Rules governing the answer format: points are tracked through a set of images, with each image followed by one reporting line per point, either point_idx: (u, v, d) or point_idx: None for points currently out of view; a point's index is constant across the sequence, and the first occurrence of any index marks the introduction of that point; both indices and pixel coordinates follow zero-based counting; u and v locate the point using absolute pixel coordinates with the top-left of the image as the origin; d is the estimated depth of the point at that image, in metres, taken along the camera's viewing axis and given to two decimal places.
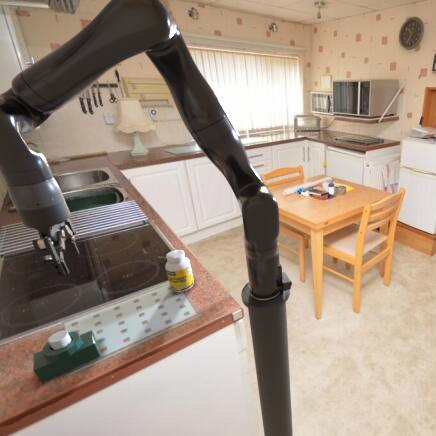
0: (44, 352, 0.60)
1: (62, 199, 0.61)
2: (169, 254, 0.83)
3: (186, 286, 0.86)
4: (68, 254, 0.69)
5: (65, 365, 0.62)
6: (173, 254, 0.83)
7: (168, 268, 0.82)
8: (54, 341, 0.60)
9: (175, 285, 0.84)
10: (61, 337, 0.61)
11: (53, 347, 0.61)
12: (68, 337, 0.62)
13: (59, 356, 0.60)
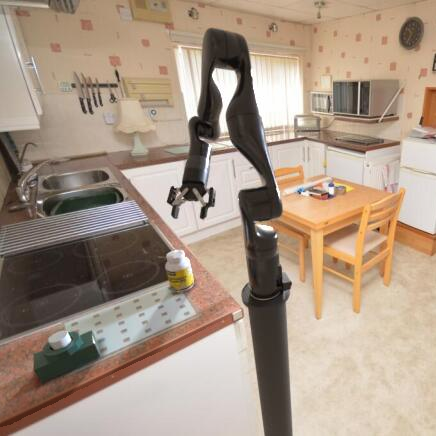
0: (44, 352, 0.60)
1: None
2: (169, 254, 0.83)
3: (186, 286, 0.86)
4: (175, 214, 0.90)
5: (65, 365, 0.62)
6: (173, 254, 0.83)
7: (168, 268, 0.82)
8: (54, 341, 0.60)
9: (175, 285, 0.84)
10: (61, 337, 0.61)
11: (53, 347, 0.61)
12: (68, 337, 0.62)
13: (59, 356, 0.60)
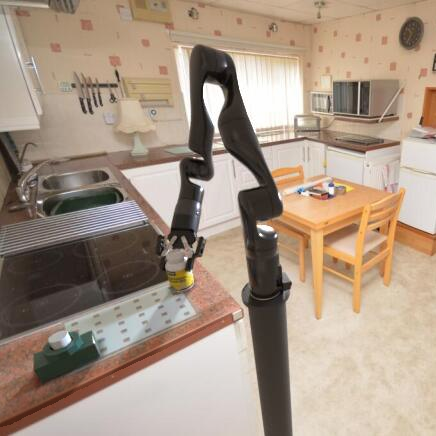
0: (44, 352, 0.60)
1: None
2: (169, 254, 0.83)
3: (186, 286, 0.86)
4: (164, 267, 0.84)
5: (65, 365, 0.62)
6: (173, 254, 0.83)
7: (168, 268, 0.82)
8: (54, 341, 0.60)
9: (175, 285, 0.84)
10: (61, 337, 0.61)
11: (53, 347, 0.61)
12: (68, 337, 0.62)
13: (59, 356, 0.60)
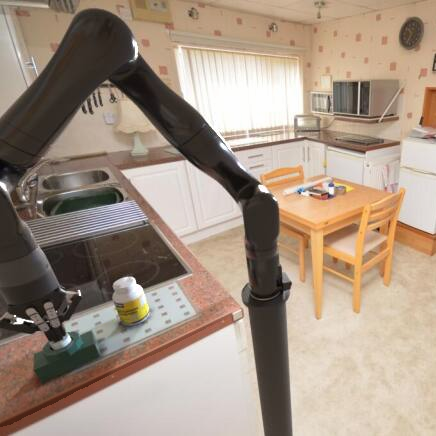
0: (44, 352, 0.60)
1: None
2: (116, 283, 0.71)
3: (138, 319, 0.74)
4: None
5: (65, 365, 0.62)
6: (121, 283, 0.72)
7: (115, 299, 0.71)
8: (56, 344, 0.60)
9: (124, 318, 0.73)
10: None
11: (54, 349, 0.61)
12: (69, 339, 0.63)
13: (59, 356, 0.60)
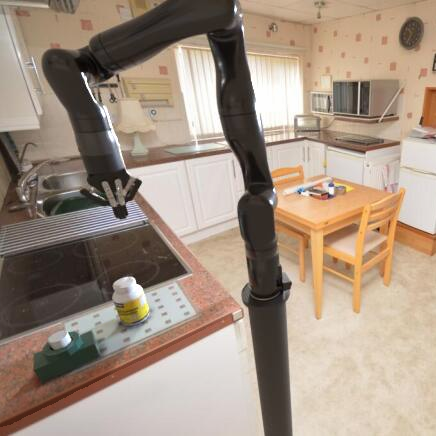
0: (44, 352, 0.60)
1: None
2: (116, 283, 0.71)
3: (138, 319, 0.74)
4: (122, 216, 0.73)
5: (65, 365, 0.62)
6: (121, 283, 0.72)
7: (115, 299, 0.71)
8: (54, 341, 0.60)
9: (124, 318, 0.73)
10: (61, 337, 0.61)
11: (53, 347, 0.61)
12: (68, 337, 0.62)
13: (59, 356, 0.60)
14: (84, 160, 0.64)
